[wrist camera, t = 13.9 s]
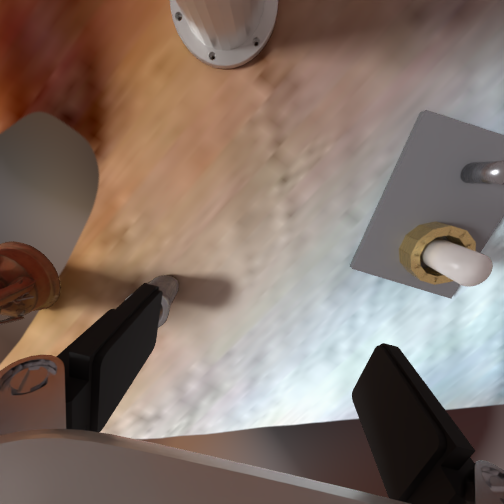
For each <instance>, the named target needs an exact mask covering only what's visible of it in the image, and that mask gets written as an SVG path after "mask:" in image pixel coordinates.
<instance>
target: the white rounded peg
mask: <svg viewBox="0 0 504 504" xmlns="http://www.w3.org/2000/svg"><path fill="white" fill-rule="evenodd" d="M420 262H422V263H424V264H425V265H427V266H429V267H431V268H432V269H434V270H436V271H438V272H439V273H441V274H443V275H445V276H446V277H448V278H450V279H452V280H453V281H455V282H457V283H459V284H460V285H463V286H475V285H478V284H480V283H482V282H483V281H485V280H486V279H487V278H488V277H489V275H490V274H491V271H492V267H493V265H492V261H491V259H490V258H489V257H488V256H486V255H484V254H481V253H478V252H476V251H473V250H470V249H468V248H465V247H462V246H460V245H457V244H454V243H452V242H449V241H446V240H444V239H441V238H438V237H437V238H435V239H434V240H432V241H431V242H429V243H428V244H427V245H426V246H425V247H424V249H423V251H422V253H421V255H420Z"/></svg>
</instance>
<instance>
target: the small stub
mask: <svg viewBox="0 0 504 504" xmlns="http://www.w3.org/2000/svg"><path fill="white" fill-rule="evenodd" d="M460 177H461V180H462V181H463V182H465V183H474V184H501V185H504V160H502V161H486V162H472V163H469V164H467V165H466V166H465V167H464V168H463V169H462V171H461V174H460Z"/></svg>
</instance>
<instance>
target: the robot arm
mask: <svg viewBox="0 0 504 504" xmlns="http://www.w3.org/2000/svg"><path fill="white" fill-rule="evenodd" d="M170 7H171V13H172V18H173V22H174V25H175V27H176V30H177V32H178V34H179V36H180V38H181V39H182V41H183V43H184V44H185V46H186V47H187V48H188V50H189V51H190V52H191V53H192V54H193V55H194V56H195V57H196V58H197V59H199V60H200V61H202V62H203V63H205V64H207V65H209V66H212V67H215V68H221V69H229V68H235V67H238V66H242V65H244V64H245V63H247V62H249V61H251V60H252V59H253V58H254V57H255V56H257V55H258V54H259V53H260V51H261V50H262V49H263V48H264V46H265V45H266V43H267V42H268V40H269V38H270V36H271V34H272V31H273V28H274V25H275V22H276V17H277V11H278V0H170ZM180 19H182V20H181V21H180ZM256 43H257V44H258V46H254V45H255V44H256ZM213 57H215V60H212V58H213ZM162 295H163V292H162V291H161V290H159V287H158V286H155V285H151V284H147V283H144V284H143V285H142V286H140V287H139V288H138V289H137V290H136V291H135V292H134V293H133V294H132V295H131V296H129V297H128V298H127V299H126V300H125V301H124V302H123V303H122V304H121V305H120V306H119V307H117V308H116V309H111V310H109V311H108V312H107V313H105V314H104V315H103V316H102V317H101V318H100V319H99V320H97V321H96V322H95V323H94V324H93V325H92V326H91V327H90V328H88V329H87V330H86V331H85V332H84V333H83V334H82V335H80V336H79V337H78V338H77V339H76V340H75V341H74V342H73V343H71V344H70V345H69V346H68V347H67V348H66V349H65V350H63V351H62V352H61V353H60V354H59V355H58V356H57V357H55V356H52V355H36V356H30V357H27V358H23V359H20V360H18V361H16V362H14V363H12V364H10V365H8V366H7V367H5V368H4V369H2V370H1V371H0V504H504V470H502V469H501V468H499V467H498V466H496V465H494V464H492V463H489V462H487V461H482V460H480V461H477V462H476V463H474V462H473V461H472V459H471V458H470V457H471V455H472V454H473V453H474V452H475V450H474V448H473V447H472V446H471V445H470V443H469V442H468V440H467V439H466V438H465V436H464V435H463V433H462V432H461V431H460V429H459V428H458V427H457V425H456V424H455V423H454V421H453V420H452V419H451V417H450V416H449V415H448V413H447V412H446V411H445V409H444V408H443V407H442V405H441V404H440V403H439V401H438V400H437V399H436V397H435V396H434V394H433V393H432V392H431V390H430V389H429V388H428V386H427V385H426V384H425V382H424V381H423V380H422V378H421V377H420V376H419V374H418V373H417V372H416V370H415V369H414V368H413V366H412V365H411V364H410V362H409V361H408V360H407V358H406V357H405V356H404V354H403V353H402V351H401V350H400V349H399V348H398V347H396V346H392V345H388V344H384V343H383V344H381V345H380V346H377V347H376V348H375V349H374V351H373V353H372V355H371V357H370V359H369V361H368V363H367V365H366V366H365V368H364V370H363V372H362V374H361V376H360V378H359V380H358V382H357V384H356V385H355V387H354V389H353V392H352V400H353V403H354V405H355V408H356V411H357V414H358V416H359V419H360V422H361V424H362V427H363V430H364V432H365V435H366V437H367V440H368V443H369V446H370V448H371V451H372V453H373V456H374V459H375V462H376V464H377V467H378V470H379V473H380V475H381V478H382V480H383V483H384V486H385V489H386V491H387V494H388V496H389V498H390V499H389V498H385V497H381V496H377V495H373V494H369V493H365V492H361V491H356V490H352V489H348V488H344V487H340V486H336V485H332V484H327V483H323V482H319V481H315V480H311V479H306V478H302V477H298V476H294V475H289V474H285V473H281V472H277V471H272V470H268V469H264V468H260V467H255V466H251V465H247V464H242V463H238V462H234V461H230V460H225V459H221V458H216V457H212V456H208V455H203V454H199V453H195V452H190V451H186V450H182V449H178V448H173V447H169V446H164V445H159V444H155V443H150V442H145V441H141V440H136V439H131V438H126V437H121V436H117V435H112V434H106V433H99V432H100V431H101V430H102V429H103V427H104V426H105V424H106V423H107V421H108V420H109V418H110V417H111V415H112V413H113V412H114V410H115V409H116V407H117V406H118V404H119V402H120V401H121V399H122V398H123V396H124V395H125V393H126V391H127V390H128V388H129V387H130V385H131V384H132V382H133V380H134V379H135V377H136V376H137V374H138V373H139V371H140V370H141V368H142V366H143V365H144V363H145V362H146V360H147V359H148V357H149V355H150V354H151V352H152V351H153V349H154V346H155V343H156V337H157V330H158V323H159V316H160V309H161V302H162Z"/></svg>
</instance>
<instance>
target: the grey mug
mask: <svg viewBox="0 0 504 504" xmlns="http://www.w3.org/2000/svg"><path fill="white" fill-rule="evenodd" d="M148 284H151V285H155V286H158V287H159V290H161V291H162V292H163V295H162V302H161V309H160V316H159V323H158V327H160V326H162V325H163V324H164V323H165V321H166V320H167V317H168V314H169V309H170V305H171V303H172V301H173V299H174V298H175V296H176V294H177V292H178V281H177V280H176V279H175V278H173V277H171V276H167V275H164V276H158V277H156V278H154V279H153V280H152V281H151V282H149V283H148ZM131 295H132V294H131ZM131 295H129V296H131ZM129 296H128V297H129ZM128 297H127V298H128ZM127 298H126V299H127ZM126 299H125V300H126Z"/></svg>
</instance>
